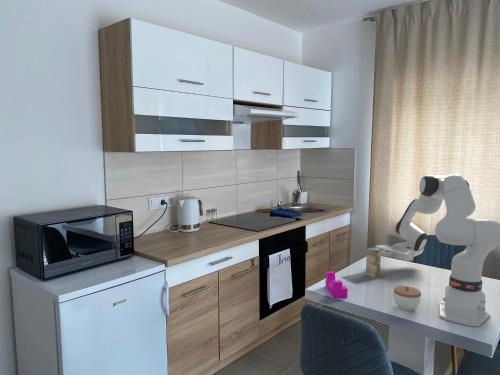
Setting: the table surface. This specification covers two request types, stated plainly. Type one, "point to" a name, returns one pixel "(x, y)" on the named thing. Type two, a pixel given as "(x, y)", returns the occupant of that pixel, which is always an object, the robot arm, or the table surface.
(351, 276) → the mat
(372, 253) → the tall block
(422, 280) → the table surface
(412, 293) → the lidded jar
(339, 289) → the toy block
